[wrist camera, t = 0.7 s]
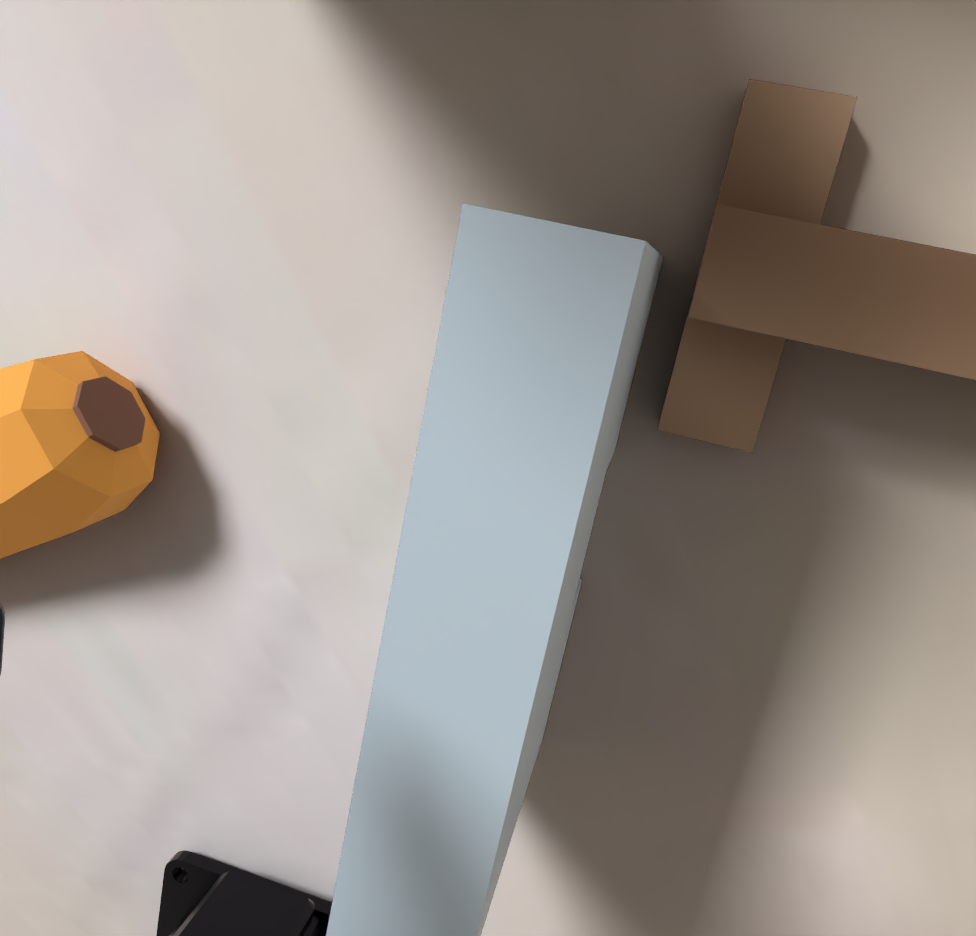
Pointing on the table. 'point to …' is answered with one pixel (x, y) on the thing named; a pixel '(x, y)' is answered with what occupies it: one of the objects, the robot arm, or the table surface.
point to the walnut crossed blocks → (803, 275)
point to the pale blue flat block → (488, 563)
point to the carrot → (68, 448)
